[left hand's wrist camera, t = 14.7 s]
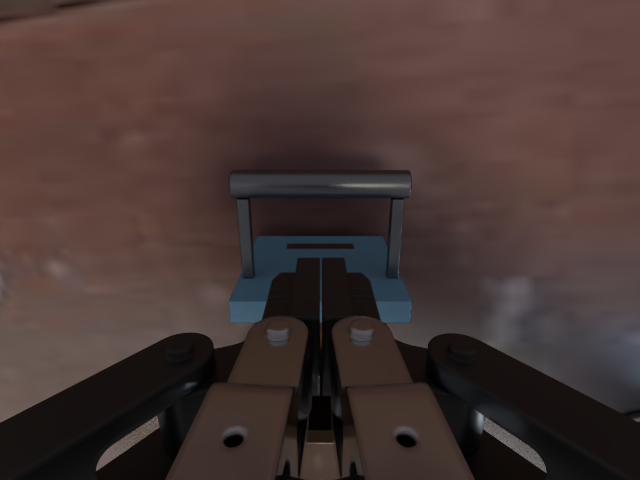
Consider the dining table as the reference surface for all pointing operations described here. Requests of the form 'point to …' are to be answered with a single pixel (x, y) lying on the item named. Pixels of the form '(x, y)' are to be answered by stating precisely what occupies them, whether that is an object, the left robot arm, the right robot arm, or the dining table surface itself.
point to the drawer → (320, 246)
